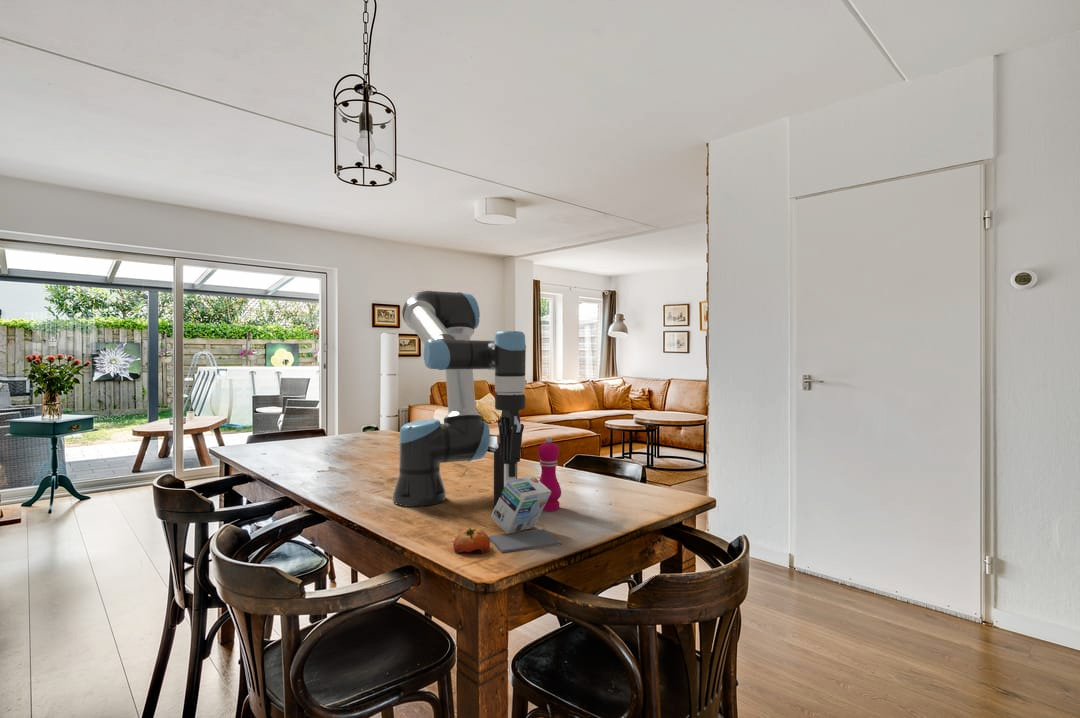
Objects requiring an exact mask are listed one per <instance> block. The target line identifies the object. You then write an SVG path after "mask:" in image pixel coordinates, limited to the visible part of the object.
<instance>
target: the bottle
mask: <svg viewBox="0 0 1080 718" xmlns="http://www.w3.org/2000/svg"><path fill="white" fill-rule="evenodd" d="M496 442H497V443H496V444H497V448H496V449H495V450H494V452H493V506H494V507H495V506H496V504H497V502H498V500H499V498H500V496H501V494H502V491H503V489H504V462H503V458H501V452H500V438H499V434H497V437H496ZM516 479H518V462H517V463H516Z"/></svg>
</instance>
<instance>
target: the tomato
mask: <svg viewBox="0 0 1080 718" xmlns="http://www.w3.org/2000/svg"><path fill="white" fill-rule="evenodd" d="M488 536H489V535H488V534H487V533H486V532H485V530H483V529H482V528H481V529H479V528H477V527H468V528H466V529H463V530H461V531H460V532H459V533H458V534H457V535H456V536H455V539H454V541H453V550H454V553H456V554H457V553H462V552H467V553H470V552H473V551H475V550H476V551H477V550H479V551H481V555H483V554H485V553H487V552H490V547H491V541H490V540H489V537H488Z"/></svg>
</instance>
